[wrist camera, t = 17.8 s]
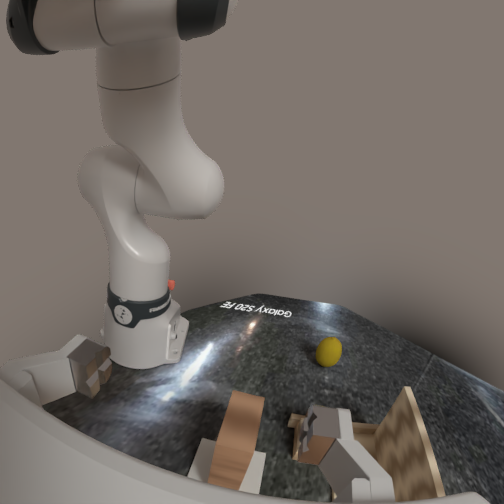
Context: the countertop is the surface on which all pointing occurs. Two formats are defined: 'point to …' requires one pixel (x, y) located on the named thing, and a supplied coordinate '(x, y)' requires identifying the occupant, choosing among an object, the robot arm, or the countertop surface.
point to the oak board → (236, 440)
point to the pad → (204, 461)
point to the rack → (400, 449)
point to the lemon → (328, 352)
